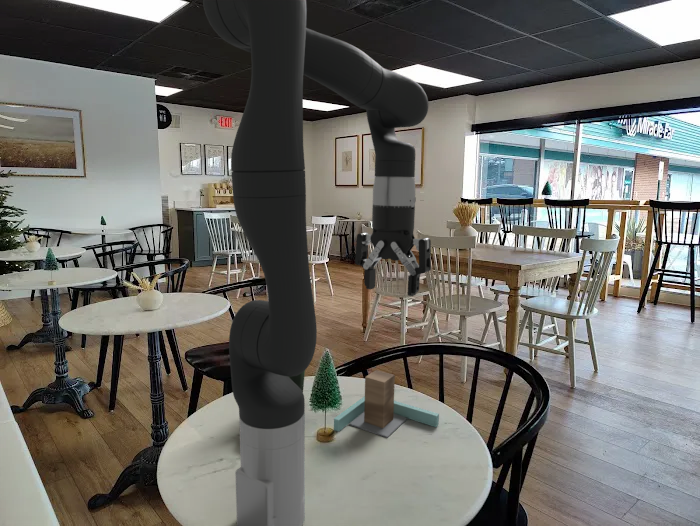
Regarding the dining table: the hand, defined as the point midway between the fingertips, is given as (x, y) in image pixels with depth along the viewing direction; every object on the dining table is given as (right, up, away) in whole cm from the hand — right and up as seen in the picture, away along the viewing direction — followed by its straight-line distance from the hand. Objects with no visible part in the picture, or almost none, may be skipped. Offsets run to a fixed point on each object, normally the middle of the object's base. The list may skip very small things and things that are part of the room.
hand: (390, 291), depth 86 cm
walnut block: (-1, -28, +13) cm, 31 cm away
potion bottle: (-22, -27, +18) cm, 39 cm away
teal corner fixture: (+1, -29, +10) cm, 31 cm away
